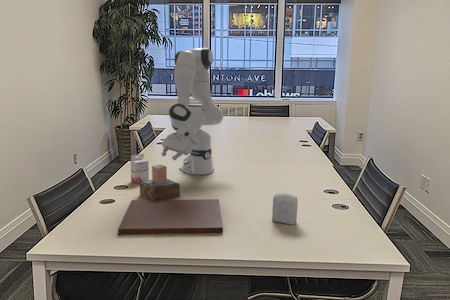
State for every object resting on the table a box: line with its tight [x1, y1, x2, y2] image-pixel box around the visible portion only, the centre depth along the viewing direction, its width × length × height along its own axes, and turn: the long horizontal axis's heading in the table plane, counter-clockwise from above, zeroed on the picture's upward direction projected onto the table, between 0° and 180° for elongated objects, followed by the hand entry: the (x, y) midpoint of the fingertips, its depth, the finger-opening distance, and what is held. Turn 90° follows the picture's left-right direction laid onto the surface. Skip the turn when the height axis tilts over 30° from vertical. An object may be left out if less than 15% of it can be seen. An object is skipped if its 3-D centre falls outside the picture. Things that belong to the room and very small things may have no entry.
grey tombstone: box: [271, 192, 299, 225], centre depth 169 cm, size 10×4×12 cm, turn 69°
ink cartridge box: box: [130, 153, 150, 184], centre depth 224 cm, size 9×5×15 cm, turn 135°
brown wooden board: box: [117, 198, 224, 236], centre depth 174 cm, size 40×3×33 cm
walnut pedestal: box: [139, 178, 181, 200], centre depth 201 cm, size 14×14×7 cm
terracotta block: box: [151, 164, 168, 184], centre depth 199 cm, size 5×5×8 cm
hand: (168, 157), depth 201 cm, fingers open, 8 cm apart
